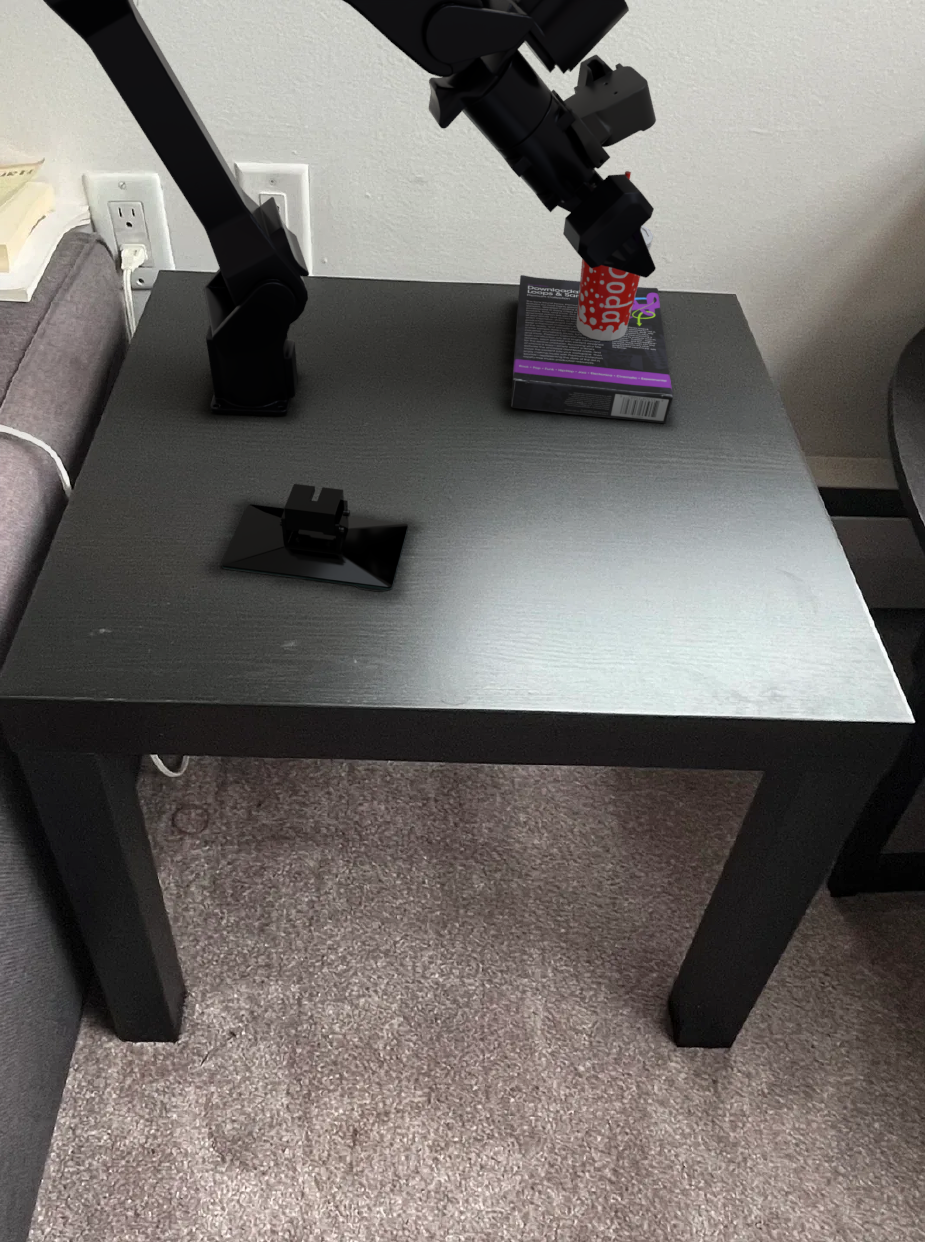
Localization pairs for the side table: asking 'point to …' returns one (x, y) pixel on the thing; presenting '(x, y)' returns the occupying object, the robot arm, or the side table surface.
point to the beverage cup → (607, 297)
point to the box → (588, 357)
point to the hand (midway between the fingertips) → (630, 248)
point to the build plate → (317, 542)
